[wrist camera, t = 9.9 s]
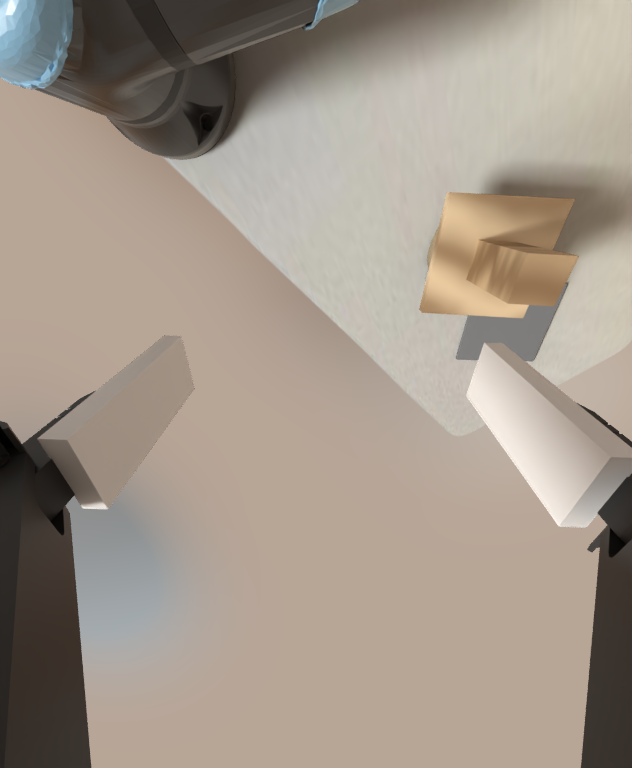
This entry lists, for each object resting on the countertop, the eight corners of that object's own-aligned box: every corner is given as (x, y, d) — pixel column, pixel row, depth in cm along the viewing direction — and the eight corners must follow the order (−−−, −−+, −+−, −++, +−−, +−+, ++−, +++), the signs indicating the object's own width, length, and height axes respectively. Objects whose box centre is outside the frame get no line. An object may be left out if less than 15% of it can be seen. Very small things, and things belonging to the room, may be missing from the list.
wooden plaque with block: (446, 192, 30) (495, 189, 21) (566, 199, 29) (664, 198, 21) (419, 309, 36) (447, 343, 27) (517, 314, 36) (577, 351, 27)
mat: (477, 281, 41) (479, 282, 41) (565, 282, 41) (567, 283, 40) (455, 358, 47) (456, 359, 47) (531, 359, 47) (533, 361, 47)
